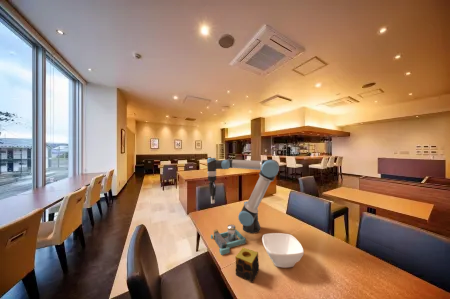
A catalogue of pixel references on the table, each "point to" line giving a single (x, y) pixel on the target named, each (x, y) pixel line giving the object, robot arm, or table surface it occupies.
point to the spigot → (231, 233)
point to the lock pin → (219, 239)
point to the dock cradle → (231, 244)
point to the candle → (247, 264)
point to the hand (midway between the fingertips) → (212, 203)
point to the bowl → (283, 249)
